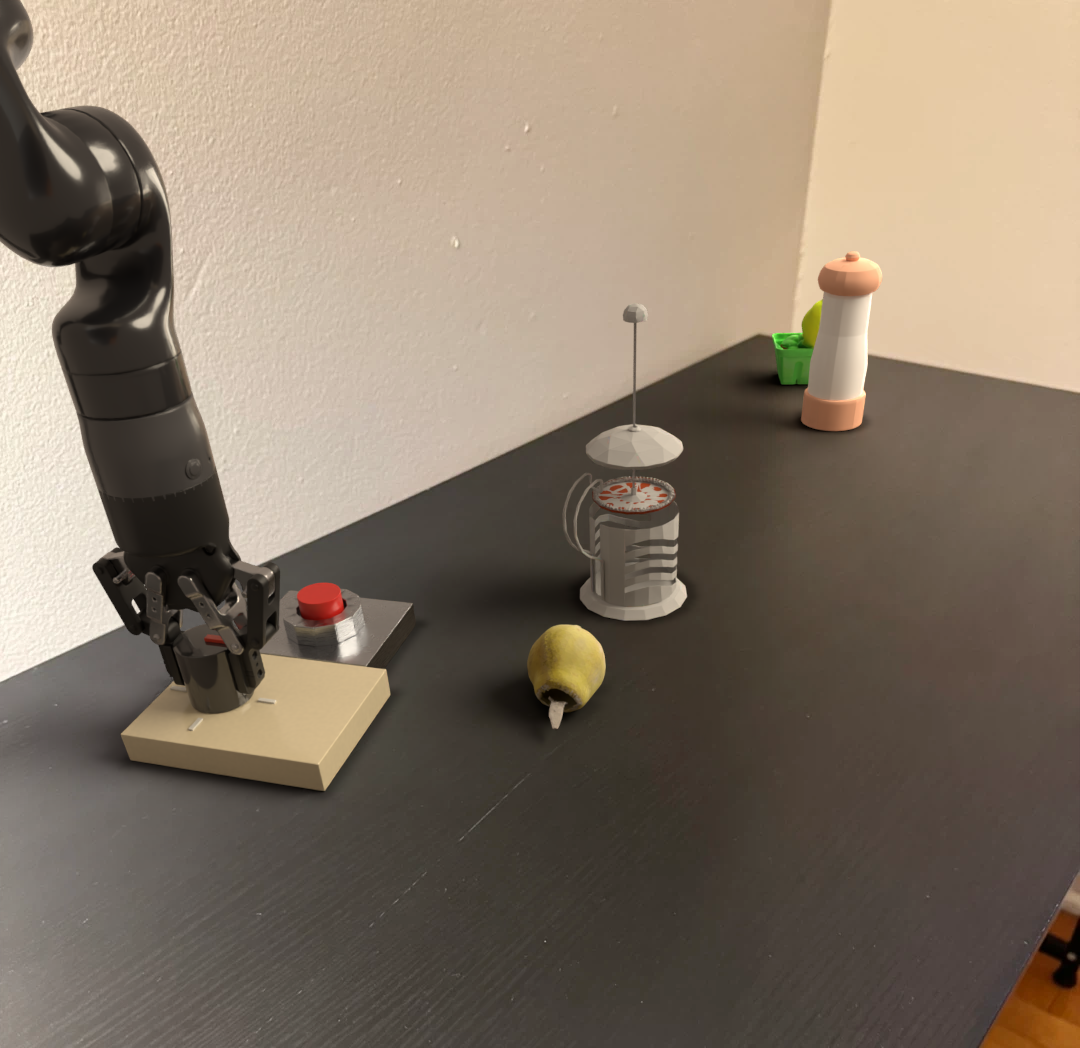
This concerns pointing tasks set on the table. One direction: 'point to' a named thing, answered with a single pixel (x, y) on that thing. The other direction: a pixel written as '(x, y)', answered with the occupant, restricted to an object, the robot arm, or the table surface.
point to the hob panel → (267, 725)
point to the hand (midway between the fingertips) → (218, 682)
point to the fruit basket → (797, 348)
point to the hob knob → (207, 671)
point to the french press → (617, 575)
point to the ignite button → (320, 601)
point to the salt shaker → (841, 345)
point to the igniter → (343, 631)
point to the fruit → (565, 669)
